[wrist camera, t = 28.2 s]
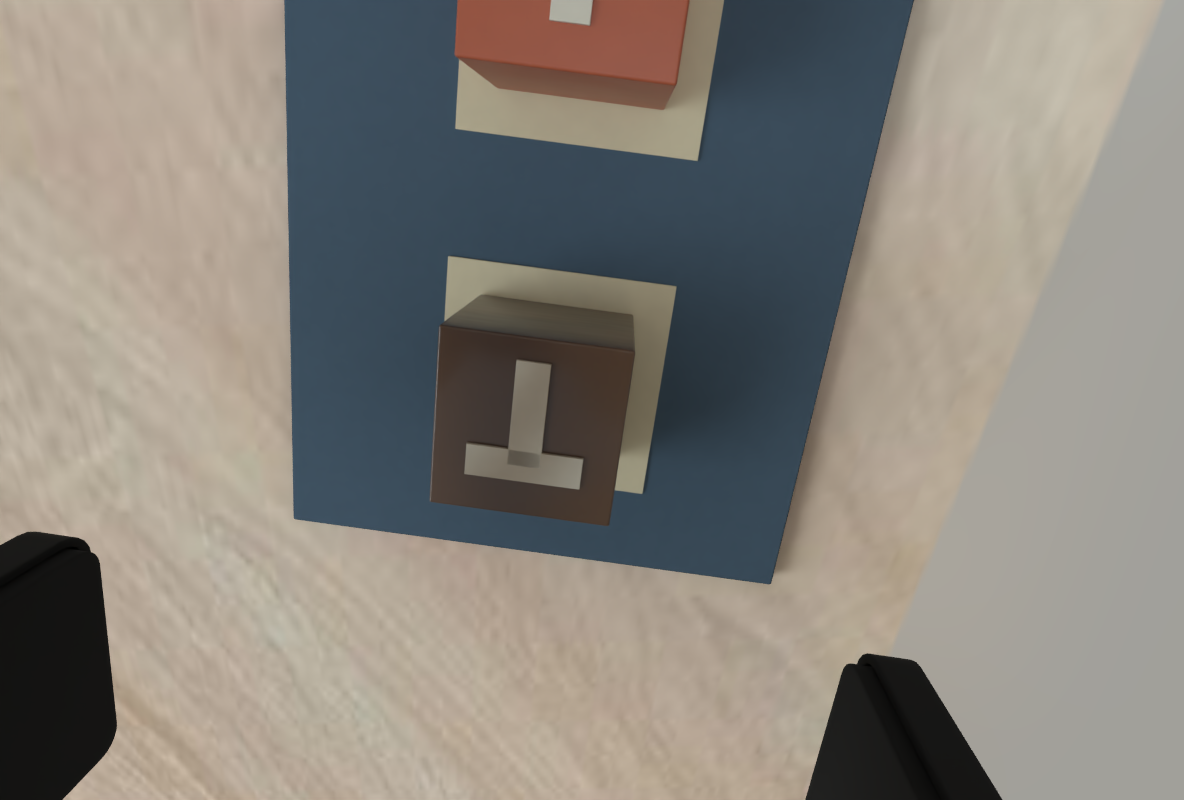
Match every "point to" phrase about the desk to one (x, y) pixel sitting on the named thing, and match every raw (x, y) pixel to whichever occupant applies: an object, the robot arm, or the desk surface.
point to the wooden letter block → (531, 408)
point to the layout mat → (579, 259)
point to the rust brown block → (576, 47)
